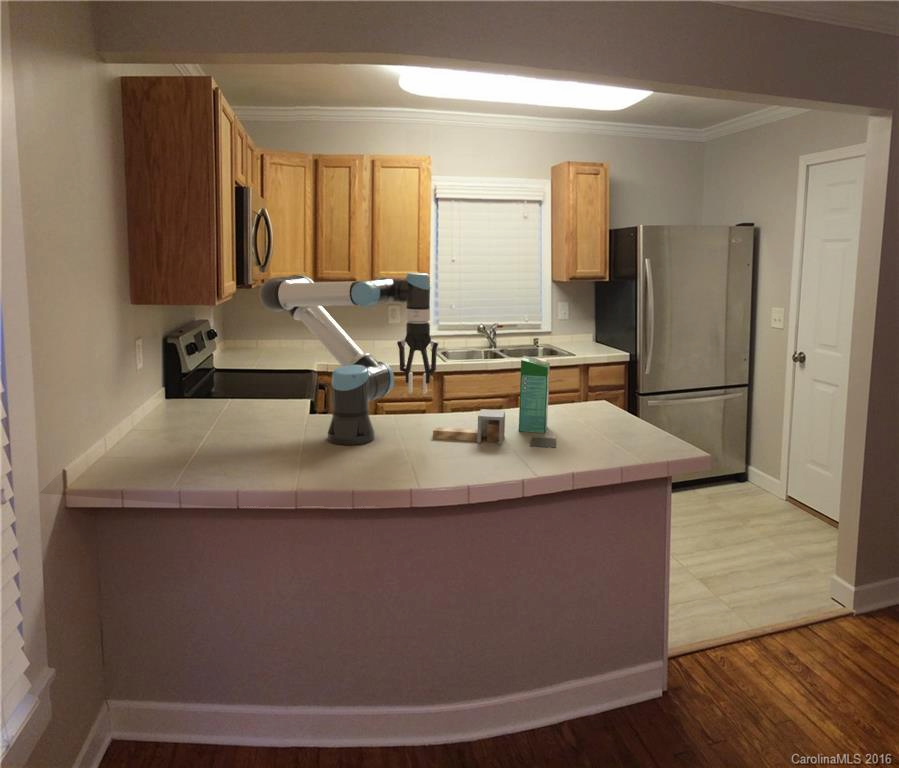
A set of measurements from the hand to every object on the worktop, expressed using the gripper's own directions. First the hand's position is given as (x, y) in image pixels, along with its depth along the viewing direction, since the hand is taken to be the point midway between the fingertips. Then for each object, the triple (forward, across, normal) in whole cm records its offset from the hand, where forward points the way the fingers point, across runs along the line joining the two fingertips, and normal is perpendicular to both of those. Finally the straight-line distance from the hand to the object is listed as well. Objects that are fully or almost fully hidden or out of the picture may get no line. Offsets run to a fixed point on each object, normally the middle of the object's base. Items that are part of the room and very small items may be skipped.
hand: (417, 392), depth 235 cm
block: (+15, +26, 0) cm, 30 cm away
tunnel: (+15, +24, 0) cm, 29 cm away
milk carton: (+15, +38, +16) cm, 43 cm away
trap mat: (+15, +42, 0) cm, 44 cm away
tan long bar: (+15, +14, 0) cm, 20 cm away
